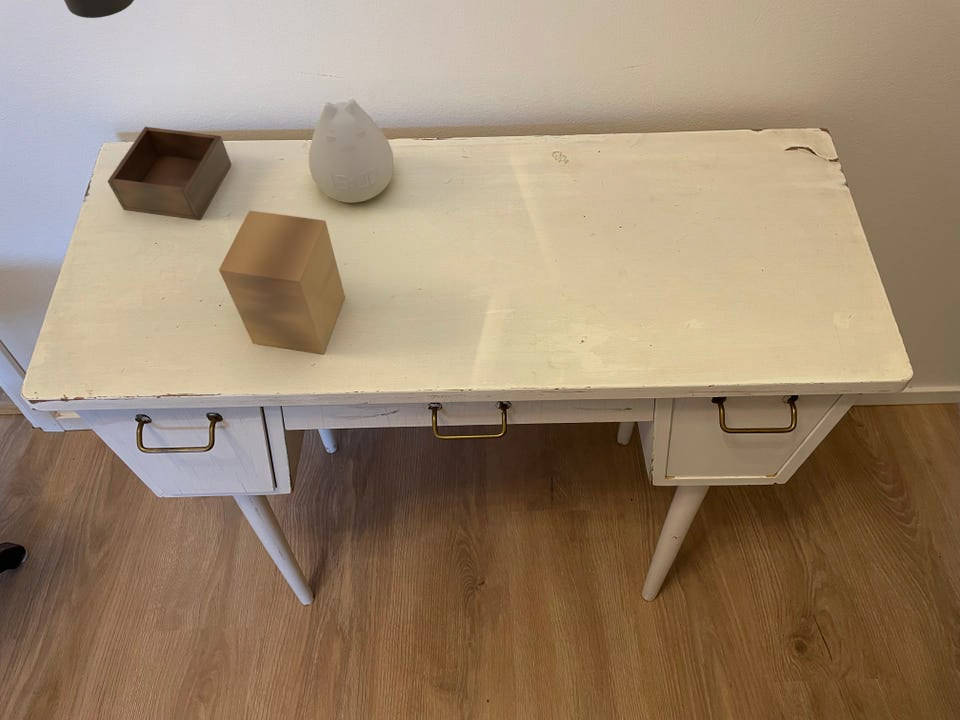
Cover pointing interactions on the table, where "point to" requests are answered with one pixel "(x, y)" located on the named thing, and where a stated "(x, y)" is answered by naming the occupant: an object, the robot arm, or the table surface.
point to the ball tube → (96, 7)
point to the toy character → (349, 154)
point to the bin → (170, 173)
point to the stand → (284, 281)
